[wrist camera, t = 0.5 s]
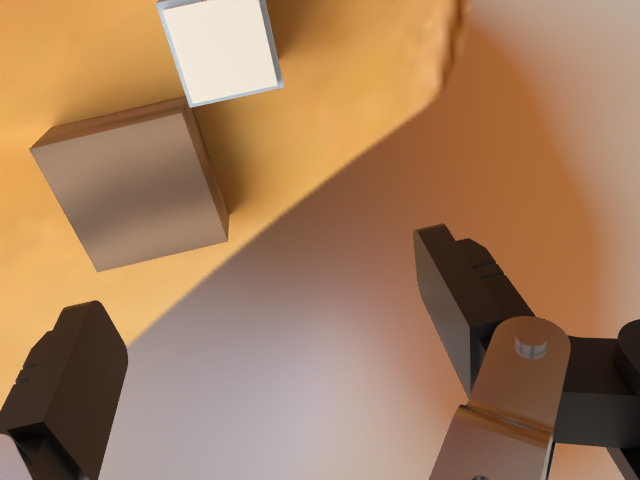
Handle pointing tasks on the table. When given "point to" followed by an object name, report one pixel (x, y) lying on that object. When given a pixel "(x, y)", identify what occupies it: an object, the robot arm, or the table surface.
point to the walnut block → (135, 183)
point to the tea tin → (221, 48)
